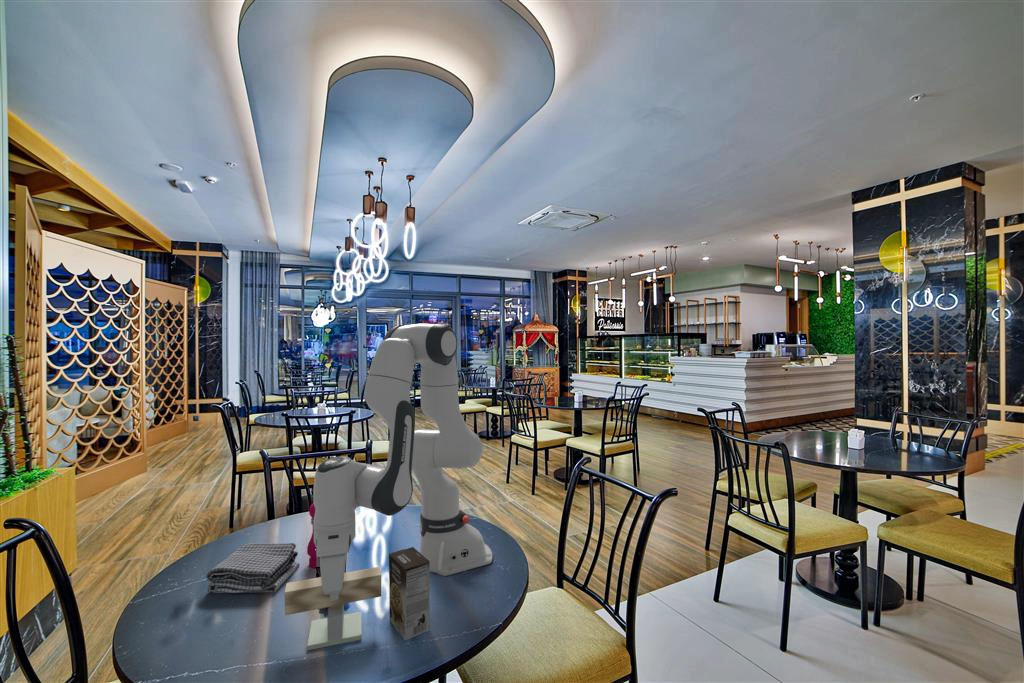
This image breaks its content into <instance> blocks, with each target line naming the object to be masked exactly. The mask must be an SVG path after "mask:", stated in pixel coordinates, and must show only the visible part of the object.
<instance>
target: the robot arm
mask: <svg viewBox="0 0 1024 683" xmlns="http://www.w3.org/2000/svg"><path fill="white" fill-rule="evenodd" d="M457 350H458V338H457V335H456V333H455V331H454V330H453V328H452V327H450V326H449V325H447V324H442V323H435V324H434V323H423V322H422V323H415V324H400V325H396V326H394V327H391V328H389V329H388V331H387V332H386V333H385V336H384V339H383V340H382V341H381V342H380V343H379V345H378V347H377V349H376V351H375V353H374V356H373V359H372V361H371V364H370V367H369V371H368V375H367V378H366V381H365V386H364V400H365V403H366V404H367V406H368V407H369V409H370V410H371V411H373V413H375V415H377V416H378V417H380V418H381V419H383V421H384V422H385V423H386V425H387V427H388V430H389V439H388V440H389V441H388V451H387V452H388V453H387V460H386V461H387V462H386V466H385V467H384V466H378V465H375V464H369V463H363V462H358V461H356V460H353V459H351V457H349V456H345V455H344V456H341V455H338V456H335V457H330V458H328V459H325V460H323V461H322V462H321V463H320V464H319V465H318V466H317V468H316V471H315V474H314V481H313V491H312V492H313V495H312V496H313V498H312V499H313V503H314V506H315V516H314V543H315V546H316V556H317V557H320V568H319V569H320V577H321V581H322V589H323V592H324V594H330V600H331V601H334V600H338V599H339V592H341V590H342V587H343V579H344V573H345V569H346V560H347V556H348V553H349V552H350V548H351V544H352V542H353V540H354V539H355V538H356V509H357V508H359V507H363V508H366V509H369V510H374V511H376V512H378V513H379V514H382V515H385V516H388V517H390V516H395V515H397V514H398V513H399V512H401V511H403V509H405V508H406V507H407V506H408V505H409V503H410V501H411V499H412V496H413V490H414V489H413V488H414V485H413V474H414V476H415V478H416V480H417V482H418V486H419V488H420V496H421V497H420V498H421V499H420V500H421V513H420V516H419V533H420V542H419V543H420V544H419V548H418V552H419V553H421V554H422V555H423V556H424V557H425V558H426V559H428V560H429V561H430V573H436V574H438V575H440V576H444V577H447V576H451V575H454V574H458V573H461V572H465V571H468V570H471V569H475V568H478V567H479V568H480V567H482V566H486V565H490V564H491V563H492V561H493V559H494V558H493V551H492V550H491V547H489V546H488V544H486V543H485V541H484V538H483V536H482V534H481V532H480V531H479V530H478V528H475V527H474V526H472V525H471V524H470V522H471V519H470V517H469V516H468V515H467V514H466V512H465V511H463V509H461V508H460V489H459V485H458V484H457V482H456V481H455V480H453V479H452V478H451V477H449V476H447V474H446V473H445V472H444V470H443V469H454V470H455V469H456V470H460V469H461V470H462V469H468V468H474V467H475V466H477V465H478V464H479V462H480V461H481V459H482V456H483V452H484V448H483V443H482V439H481V438H480V437H479V435H478V434H477V433H475V431H473V430H472V429H471V428H470V427H469V426H468V424H467V422H466V421H465V420H464V417H463V415H462V412H461V408H460V401H459V399H460V398H459V375H458V374H459V373H458V368H457V367H458V366H457V360H456V357H455V356H456V355H455V354H456V352H457ZM416 364H420V367H421V369H420V383H419V384H420V387H419V388H420V409H421V412H422V413H423V414H424V416H426V418H427V417H428V418H429V419H431V420H432V421H433V422H434V423H435V424H436V426H437V428H438V429H430V428H426V429H425V428H419V429H416V414H415V413H416V412H415V409H414V408H415V407H414V406H413V405H412V403H411V394H410V393H411V387H412V382H413V375H414V368H415V367H414V366H415V365H416ZM412 473H413V474H412Z"/></svg>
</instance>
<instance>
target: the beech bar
mask: <svg viewBox="0 0 1024 683" xmlns="http://www.w3.org/2000/svg"><path fill="white" fill-rule="evenodd" d="M381 571H382V570H381V566H376V567H370V568H364V569H359V570H354V571H348V572H344V579H343V587H342V590H341V592H339V599H338V600H334V601H331V600H330V594H324V592H323V589H322V581H321V576H318V577H314V578H308V579H303V580H296V581H290V582H286V584H285V585H286V586H285V589H284V616H290V615H296V614H299V613H305V612H310V611H314V610H319V609H325V608H329V607H331V606H336V605H341V604H344V605H345V604H350V603H355V602H360V601H365V600H369V599H370V600H371V599H374V598H375V599H376V598H380V597H381V598H382V572H381Z"/></svg>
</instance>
